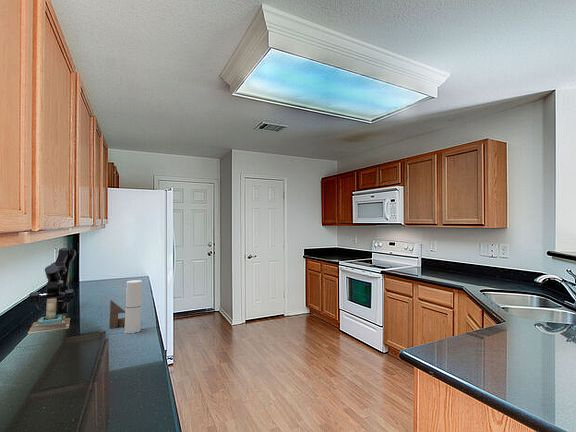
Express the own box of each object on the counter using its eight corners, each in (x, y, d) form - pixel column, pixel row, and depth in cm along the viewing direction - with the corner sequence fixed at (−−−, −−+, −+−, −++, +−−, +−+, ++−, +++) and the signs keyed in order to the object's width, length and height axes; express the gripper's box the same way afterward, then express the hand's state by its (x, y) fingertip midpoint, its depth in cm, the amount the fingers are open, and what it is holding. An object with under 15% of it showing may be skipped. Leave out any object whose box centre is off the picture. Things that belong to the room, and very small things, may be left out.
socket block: (40, 325, 160) (40, 317, 160) (61, 322, 165) (62, 314, 165) (38, 330, 152) (38, 321, 153) (60, 327, 157) (61, 319, 157)
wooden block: (109, 326, 162) (110, 292, 163) (131, 323, 168) (133, 290, 169) (109, 328, 159) (111, 293, 160) (133, 325, 165) (134, 291, 166)
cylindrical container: (124, 334, 151) (126, 282, 152) (124, 330, 157) (126, 280, 158) (140, 332, 154) (142, 282, 155) (140, 328, 160) (141, 279, 161)
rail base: (33, 324, 164) (33, 317, 164) (70, 319, 173) (70, 313, 173) (27, 335, 147) (27, 328, 147) (68, 329, 156) (68, 323, 156)
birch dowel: (47, 323, 160) (49, 297, 161) (56, 322, 161) (58, 297, 162) (43, 325, 156) (45, 299, 157) (53, 325, 157) (54, 299, 158)
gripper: (30, 276, 158) (26, 303, 148) (74, 274, 168) (73, 298, 158) (32, 289, 164) (27, 315, 154) (74, 286, 174) (73, 310, 165)
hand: (50, 309), depth 158 cm, fingers open, 9 cm apart
